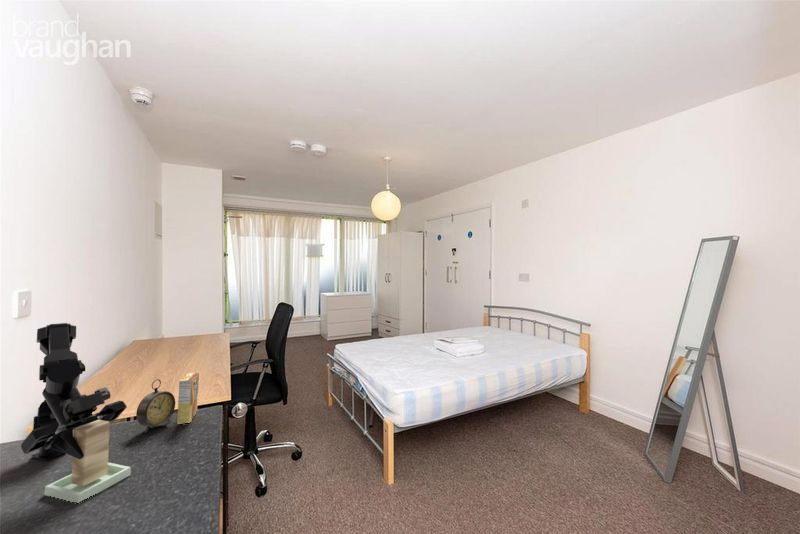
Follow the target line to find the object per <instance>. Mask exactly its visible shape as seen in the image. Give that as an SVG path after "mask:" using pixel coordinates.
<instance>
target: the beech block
mask: <svg viewBox="0 0 800 534" xmlns="http://www.w3.org/2000/svg"><path fill="white" fill-rule="evenodd" d="M110 427H111V422H109V421H103V420H96V421H93V422H91V423H88V424H85V425H83V426H80V427H77V428H74V430H73V437H74V439H75V440H76V442H77V444H78V445H79V447H80V448H81V450H82V452H83V455H84V457H83V458H82V459H77V458H75V457H73V456H72V469H71V474H72V484H76V485H80V486H85V485H87V484H89V483H91V482H93V481H95V480H97V479H99V478H100V477H102V476H104V475H106V474H107V473H108V462H109V447H110V432H111V431H110V430H111V429H110Z"/></svg>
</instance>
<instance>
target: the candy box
mask: <svg viewBox="0 0 800 534" xmlns="http://www.w3.org/2000/svg"><path fill="white" fill-rule="evenodd" d="M199 377H200V374H199V372H191V373H186V374H185V375H184V376H183V377H181V379H180V380H179V381H178V401H177V402H178V403H177V422H176V423H177V424H182V423H190V422H192V421H193V420H194V419H193V417H194V416H195V414H196V411H197V412H198V401H199V399H198V396H199V395H198V394H199ZM196 415H197V414H196ZM195 417H196V416H195ZM195 417H194V418H195ZM192 419H193V420H192ZM177 424H176V425H177ZM190 424H191V423H190Z"/></svg>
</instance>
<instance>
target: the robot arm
mask: <svg viewBox="0 0 800 534" xmlns="http://www.w3.org/2000/svg"><path fill="white" fill-rule="evenodd" d="M76 338H77V326H76V325H73V324H71V323H67V322H60V323H50V324H46V326H44V327H40V328H37V330H36V343H39V351H41V352H42V354H43V355H45V356H44V357H43V364H40V365H39V368H38V369H39V370H38V373H39V374H38V380H39V381H42V383H44V384H45V388H44V389H43V390H42V392H41V394H42V397H44V400H43V401H42V402H41V403H40V404H39V406H38V408H37V415H35V416H33V421H32V422H33V423H32V430H31V432H30V433H29V434H28V435H27V436H26V438H25V439H24V440H23V441H22V442H21V444H20V448H21V450H22V453H23V454H25V455H27V454H30V453H32V452H35V451H37V450H38V452H37V453H34V454H31V457H30V458H32V459H33V458H34V459H38V460H41V461H49V460H51V459H52V460H53V459H54V458H56V457H59V456H62V455H64V454H66V455H69V456H71V457H72V458H73V457H75V458H77V459H82V458H83V457H84V455H83V452H82V450H81V448H80V447H79V445H78V444H77V442H76V440H75V439H74V428H77V427H80V426H83V425H85V424H88V423H91V422H93V421H96V420H103V421H109V422H110V423H111V422H113V421H115V420H116V419H118V418H119V417H120V416H121V415H122V413H123V412H124V411H125V410H126V409H127V407H128V406H127V405H126V403H125V401H123V400H117V401H115V402H110V403H108V404H106V405H104V404H105V401H107V400H109V399H110V398H111V392H110V390H109V389H108V388H107V387H102V388H98V389H97V390H94V393H91V394H88V395H87V394H86V393H84V394H81V393H80V390H79V389H78V388H77V387H78V385H79V381H80V375H82V374H83V372H86V365H85V363H83V361H82V359H79V358H78V353H77V352H74V351H72V350H71V347H72V345H73V341H74V340H75V339H76ZM100 405H104V407H103V408H102V409H100V411H99V412H96V411H97V409H98V406H100ZM94 412H96V413H94Z"/></svg>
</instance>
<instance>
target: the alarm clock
mask: <svg viewBox="0 0 800 534" xmlns="http://www.w3.org/2000/svg"><path fill="white" fill-rule="evenodd" d="M157 381H158V382H159V385H158V387H155V388H154V384H155V382H157ZM161 384H162V381H161V379H158V378H157V379H155V380H153V382H152V384H151V388H152V390H154V391H151V392H150V393H148V394H146V396H144V397H143V398H142V399H141V401H140V402H139V403H138V405H137V410H136V412H135V415H136V420H137V422H138V423H139V424H140V425H141V426H143V427H146V429H145V431H144V432H147V433H148V431H149V430H150V428H151V427H152V428H153V427H155V428H157V427H161V426H162V425H164V424H166V422H168V421H170V422H171V420H170V419H171V417H172V416H173V414H174V411H175V408H176V398H175V396H174V394H173V393H172V392H171V391H166V390H165V391H159V390H158V389H159V388H160V387H161Z"/></svg>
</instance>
